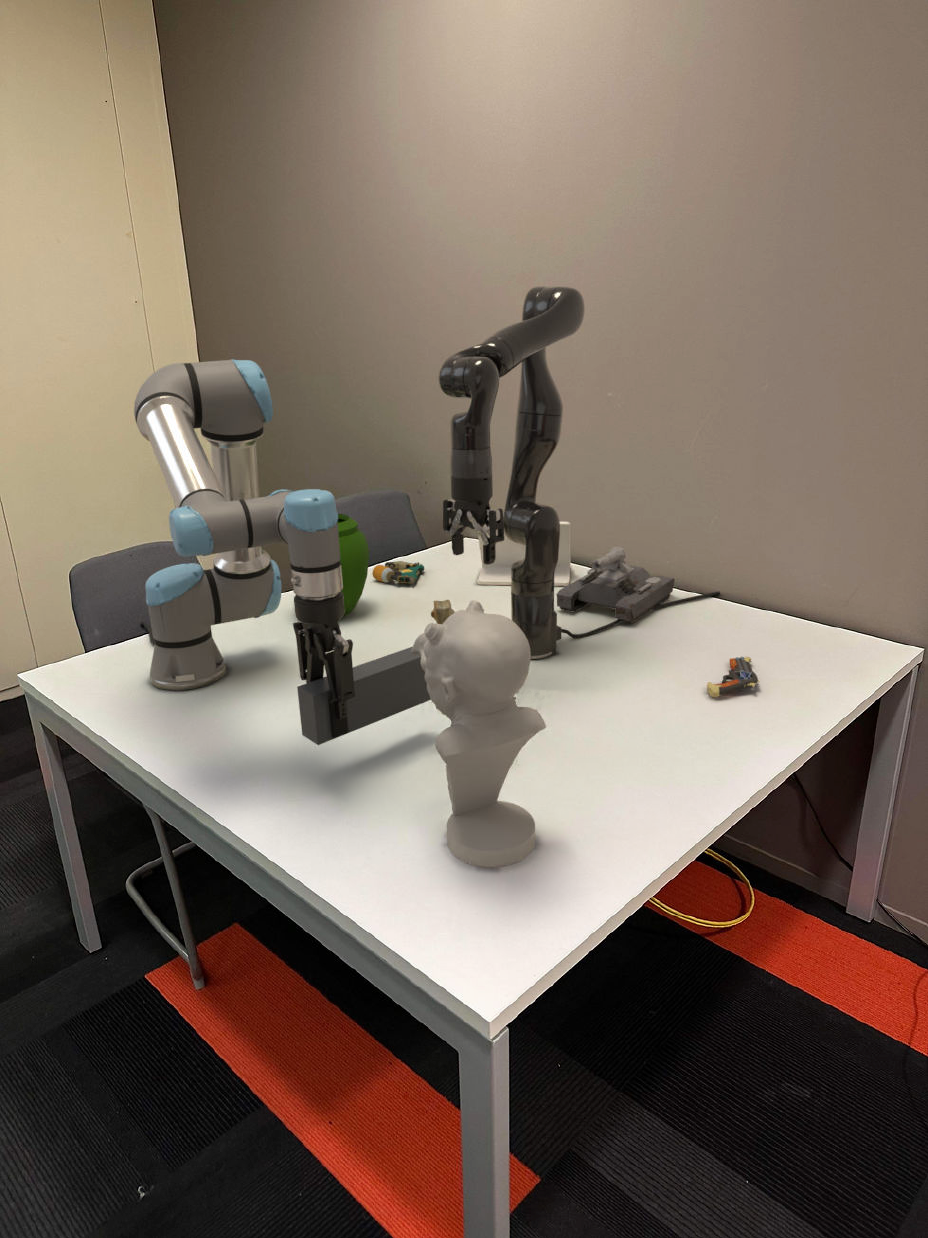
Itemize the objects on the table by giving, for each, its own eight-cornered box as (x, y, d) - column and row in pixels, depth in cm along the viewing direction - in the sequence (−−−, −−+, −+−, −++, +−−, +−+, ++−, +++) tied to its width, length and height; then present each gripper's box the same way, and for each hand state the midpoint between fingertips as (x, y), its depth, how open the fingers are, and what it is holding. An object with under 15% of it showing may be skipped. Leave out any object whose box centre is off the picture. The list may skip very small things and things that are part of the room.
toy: (603, 584, 229) (605, 530, 224) (673, 597, 218) (677, 540, 213) (555, 612, 210) (556, 553, 205) (630, 627, 199) (633, 566, 194)
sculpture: (458, 662, 183) (456, 596, 178) (460, 676, 176) (457, 608, 171) (431, 663, 183) (428, 597, 177) (431, 677, 176) (428, 609, 171)
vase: (389, 608, 216) (383, 514, 208) (339, 633, 201) (330, 533, 192) (330, 596, 226) (322, 506, 218) (278, 619, 211) (267, 523, 202)
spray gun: (392, 568, 251) (438, 575, 245) (363, 581, 236) (410, 589, 230) (392, 554, 249) (438, 561, 243) (362, 567, 235) (411, 574, 229)
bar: (420, 689, 153) (418, 644, 150) (437, 697, 149) (435, 651, 146) (302, 735, 138) (297, 686, 135) (317, 745, 134) (313, 695, 131)
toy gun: (708, 687, 162) (763, 684, 160) (700, 655, 180) (750, 652, 178) (709, 701, 163) (764, 698, 161) (701, 667, 181) (750, 664, 179)
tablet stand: (569, 585, 229) (570, 524, 223) (476, 584, 232) (475, 523, 226) (570, 566, 246) (571, 508, 240) (484, 564, 249) (483, 507, 243)
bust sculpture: (481, 772, 140) (476, 569, 128) (565, 848, 120) (569, 617, 108) (392, 800, 134) (378, 588, 121) (465, 886, 114) (457, 642, 101)
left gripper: (267, 585, 134) (282, 718, 142) (329, 613, 121) (342, 757, 130) (308, 574, 139) (320, 703, 147) (372, 600, 126) (382, 740, 134)
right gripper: (430, 470, 156) (433, 555, 162) (482, 480, 146) (484, 571, 152) (460, 464, 161) (463, 547, 166) (514, 474, 151) (514, 562, 156)
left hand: (330, 728), depth 138 cm, fingers closed on bar, 5 cm apart
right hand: (473, 558), depth 159 cm, fingers open, 8 cm apart
